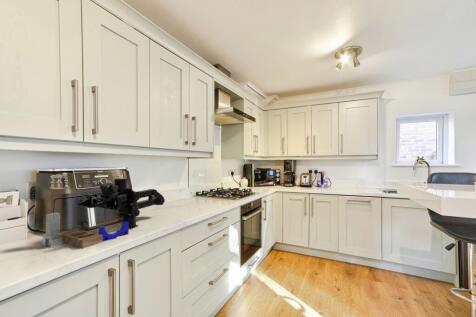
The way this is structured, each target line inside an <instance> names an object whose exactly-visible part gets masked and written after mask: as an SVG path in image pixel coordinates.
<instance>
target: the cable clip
mask: <svg viewBox="0 0 476 317" xmlns="http://www.w3.org/2000/svg"><path fill="white" fill-rule="evenodd" d="M120 227H121V228H118V230H117V231H115V232H113V233H109V232H107V231H106V227H105V226H104V225H100V226H98V234H100V235H103V242H106V241H110V240H114V239H115V240H116V239H117V238H119V237H123V236H127V235H129V230H130V229H129V222H126V221H125V222H123V224H121V226H120Z"/></svg>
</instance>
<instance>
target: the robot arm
mask: <svg viewBox="0 0 476 317" xmlns="http://www.w3.org/2000/svg"><path fill="white" fill-rule="evenodd" d="M99 189H100V192H101V194H100V197H98V195H97V194H94V193H93V194H92V193H88V194H86V195H85V199H84V200H82V201H80V202H78V203H77V206H79V207H83V208H85V209H93V208H99V209H105V210H109V211H110V210H111V211H112V210H113V211H118V214H119V216H120V217H122V224H123V222H125V221H126V222H129V230H131V229H134V228H137V227H139V224H137V217H138V216H140V213H141V211H140V210H141V209H144V208H148V207H152V206H162V205H164V203H165V200H166V199H165V196H163V194H162V193H161V192H159V191H157V189H156V188H155V189H154V188H149V189H145V190H138V191H137V190H136V191H134V190H133V189H132V188H128V178H114V179H113V183H111V182H105V183H103V184H101V185H99ZM143 198H147V199H143ZM140 199H143V200H140ZM139 200H140V201H139ZM122 224H121V225H122ZM121 227H122V226H120V228H121ZM120 228H119V229H120Z"/></svg>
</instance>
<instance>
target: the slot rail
mask: <svg viewBox="0 0 476 317" xmlns="http://www.w3.org/2000/svg"><path fill="white" fill-rule="evenodd" d="M103 242H104V241H103V235H100V234H99V233H96V232H91V231H87V230H84V229H82V230H81V229H80V230H77V231H72V232H69V233H63V243H65V244H69V245H72V246H75V247H78V248H80V249H81V248H82V249H85V248H88V247H91V246H95V245H98V244H101V243H103Z"/></svg>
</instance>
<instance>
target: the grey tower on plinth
mask: <svg viewBox="0 0 476 317" xmlns="http://www.w3.org/2000/svg"><path fill="white" fill-rule="evenodd" d="M45 216H46V217H45V218H46V219H45V233H43V234H42V245H43V246H48V248H54V247H58V246H62V245H63V243H64V242H63V235H64V233H62V232H61V213H60V212H52V213H46V215H45Z"/></svg>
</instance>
